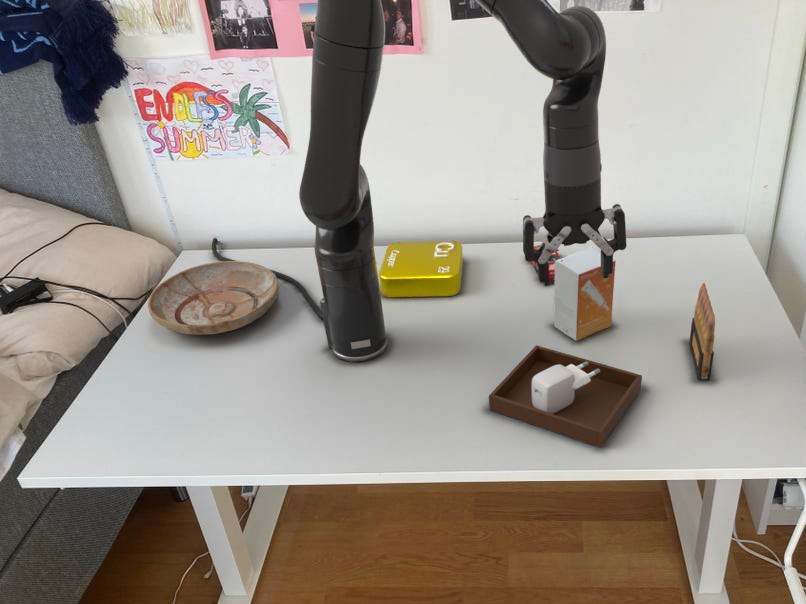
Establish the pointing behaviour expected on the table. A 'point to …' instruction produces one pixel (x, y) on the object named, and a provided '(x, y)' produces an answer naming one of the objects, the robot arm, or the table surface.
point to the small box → (582, 294)
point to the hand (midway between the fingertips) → (575, 279)
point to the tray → (592, 403)
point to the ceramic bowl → (214, 297)
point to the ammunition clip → (702, 336)
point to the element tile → (422, 269)
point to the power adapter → (558, 386)
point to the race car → (551, 264)
